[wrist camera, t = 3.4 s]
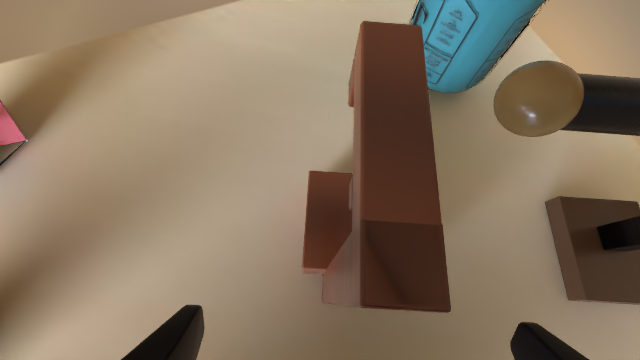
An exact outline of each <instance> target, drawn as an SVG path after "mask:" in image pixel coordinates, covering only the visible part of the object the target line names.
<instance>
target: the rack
mask: <svg viewBox="0 0 640 360" xmlns="http://www.w3.org/2000/svg"><path fill="white" fill-rule="evenodd" d="M494 112H495V115H496V118H497V119H498V121H499V123H500V124H501V125H502V126H503V127H504V128H505V129H507V130H508V131H510V132H512V133H514V134H517V135H520V136H526V137H538V136H544V135H548V134H551V133H554V132H556V131H558V130H567V131H580V132H594V133H608V134H621V135H636V136H640V78H629V77H616V76H603V75H590V74H578V73H576V72H575V71H574V70H573V69H572V68H570V67H568V66H567V65H565V64H562V63H559V62H554V61H537V62H533V63H529V64H526V65H524V66H521V67H519V68H518V69H516V70H514V71H513V72H512V73H510V74H509V75H508V76H507V77H506V78H505V79H504V80H503V81H502V83H501V84H500V85H499V87H498V89H497V91H496V94H495V97H494ZM545 204H546V208H547V212H548V216H549V220H550V224H551V229H552V233H553V237H554V241H555V245H556V249H557V254H558V258H559V262H560V266H561V270H562V274H563V278H564V283H565V287H566V291H567V295H568V299H569V300H571V301H587V302H604V303H620V304H637V305H640V207H639V205H638V202H635V201H620V200H606V199H591V198H577V197H562V196H559V197H556V198H554V199H551V200H549V201H547V202H545Z"/></svg>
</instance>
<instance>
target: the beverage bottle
mask: <svg viewBox="0 0 640 360" xmlns="http://www.w3.org/2000/svg"><path fill="white" fill-rule="evenodd" d="M544 1H545V2H546V0H419V2H418V4H417V6H416V9H415V11H414V10H413V11H414V14H413V13H412V14H413V16H412V19H413V20H412V19H411V20H412V23H411V24H410V25H419V26H421V27H422V33H423V43H424V53H425V63H426V73H427V83H428V88H430V89H433V90H436V91H440V92H446V93H456V92H462V91H465V90H467V89H469V88H471V87H473V86H475V85H476V84H477V83H479V82H480V81H481V80H483V79H484V77H485V76H487V75H486V74H488V73H489V71H490V69H491V68H492V69H493V67H494V64H496V63H498V62H497V61H498V59H499V58H500V57H501V58H502V57H503V56H504V54H505V53H506V52H508V51H509V50H508V49H509V48H510V47H511V46H513V45H512V44H513V43H514V42H515V41H517V40H516V39H517V38H518V37H519V36H521V35H520V34H521V33H522V32H523V31H525V30H524V29H525V28H526V27H527V26H529V22H530V19H531V18H532V16H533V14H534V13H535V12H536V11H537V9H538V8H539V7H540V6H541V4H542V3H544ZM416 3H417V2H416ZM534 16H535V15H534ZM528 21H529V22H528ZM409 23H410V22H409ZM526 23H527V24H526ZM408 25H409V24H408ZM524 26H525V27H524ZM520 31H521V32H520ZM519 32H520V33H519ZM517 35H518V36H517ZM516 36H517V37H516ZM512 41H513V42H512ZM510 44H511V45H510ZM509 45H510V46H509ZM508 46H509V47H508ZM506 49H507V50H506ZM505 50H506V51H505ZM501 58H500V59H499V60H501ZM495 66H496V65H495ZM482 82H483V81H482ZM479 84H480V83H479Z"/></svg>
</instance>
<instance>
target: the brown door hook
mask: <svg viewBox="0 0 640 360" xmlns="http://www.w3.org/2000/svg"><path fill="white" fill-rule="evenodd" d="M348 104H349V106H350V107H354V127H353V174H352V173H338V172H323V171H309V181H308V194H307V207H306V221H305V234H304V247H303V261H302V271H303V273H307V274H323V290H322V302H323V303H329V304H337V305H344V306H352V307H359V308H371V309H388V310H405V311H422V312H439V313H449V312H451V304H450V294H449V284H448V274H447V265H446V255H445V245H444V235H443V225H442V222H441V212H440V202H439V192H438V183H437V173H436V163H435V153H434V143H433V133H432V123H431V113H430V103H429V93H428V83H427V73H426V63H425V53H424V43H423V33H422V27H421V26H419V25H406V24H394V23H381V22H369V21H364V22H362V24H361V25H360V30H359V35H358V40H357V45H356V50H355V58H354V60H353V65H352V70H351V75H350V80H349V99H348Z"/></svg>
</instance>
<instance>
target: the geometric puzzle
mask: <svg viewBox="0 0 640 360" xmlns="http://www.w3.org/2000/svg"><path fill="white" fill-rule="evenodd" d="M21 141H25V142H27V141H28V139H26V138H25V137H24V135H23V134H22V132H21V131H20V129H19V128H18V126H17V125H16V123H15V122H14V120H13V119H12V117H11V116H10V114H9V113H8V111H7V110H6V108H5V107H4V105H3V104H2V102H1V101H0V145H5V144H10V143H16V142H21ZM25 142H24V143H25ZM24 143H22V144H21V145H20V146H22V145H23V144H24ZM20 146H19V147H20ZM19 147H18V148H19ZM18 148H17V149H18ZM17 149H16V150H17ZM16 150H15V151H16ZM15 151H13V152H12V153H11V154H10V155H9V156H8V157H7V158H5V159H6V160H7V159H8V158H9V157H10V156H11V155H12V154H13V153H14V152H15ZM5 159H4V160H3V161H2V162H1V163H0V165H1V164H2V163H4V162H5V161H6V160H5Z"/></svg>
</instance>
